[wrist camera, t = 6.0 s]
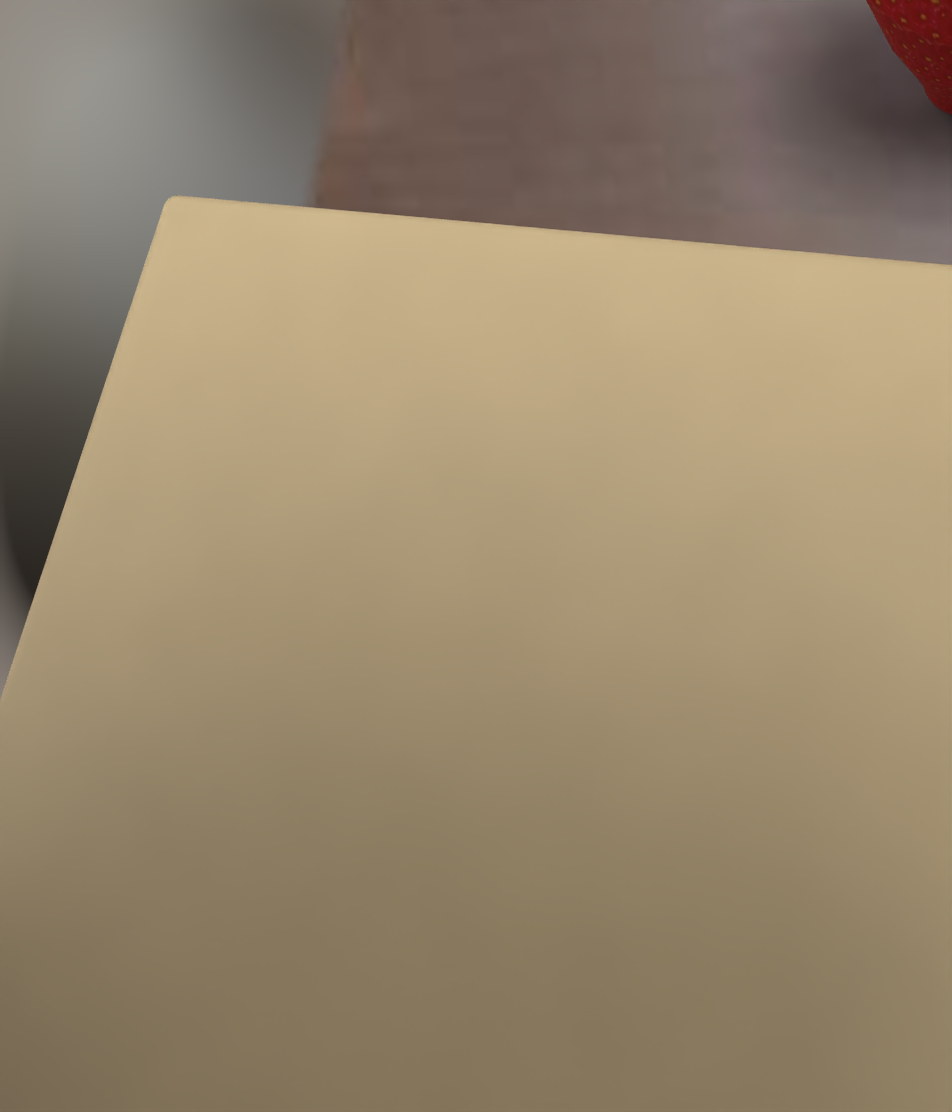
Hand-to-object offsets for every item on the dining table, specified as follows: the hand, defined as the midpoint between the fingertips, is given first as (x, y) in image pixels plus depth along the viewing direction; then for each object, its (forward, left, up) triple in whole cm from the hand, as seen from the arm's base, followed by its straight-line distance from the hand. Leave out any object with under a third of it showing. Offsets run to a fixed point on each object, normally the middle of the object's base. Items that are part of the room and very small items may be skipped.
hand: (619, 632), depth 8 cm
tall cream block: (-1, -1, -7) cm, 7 cm away
